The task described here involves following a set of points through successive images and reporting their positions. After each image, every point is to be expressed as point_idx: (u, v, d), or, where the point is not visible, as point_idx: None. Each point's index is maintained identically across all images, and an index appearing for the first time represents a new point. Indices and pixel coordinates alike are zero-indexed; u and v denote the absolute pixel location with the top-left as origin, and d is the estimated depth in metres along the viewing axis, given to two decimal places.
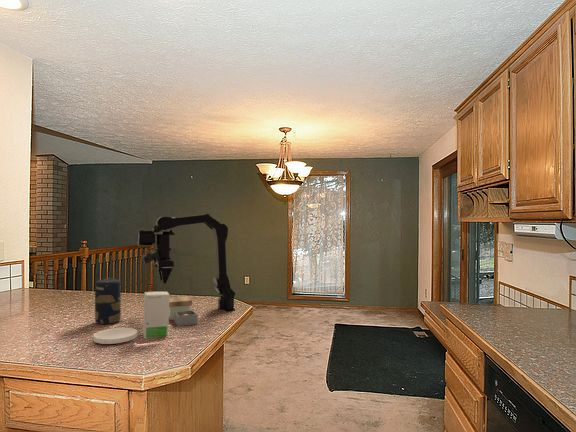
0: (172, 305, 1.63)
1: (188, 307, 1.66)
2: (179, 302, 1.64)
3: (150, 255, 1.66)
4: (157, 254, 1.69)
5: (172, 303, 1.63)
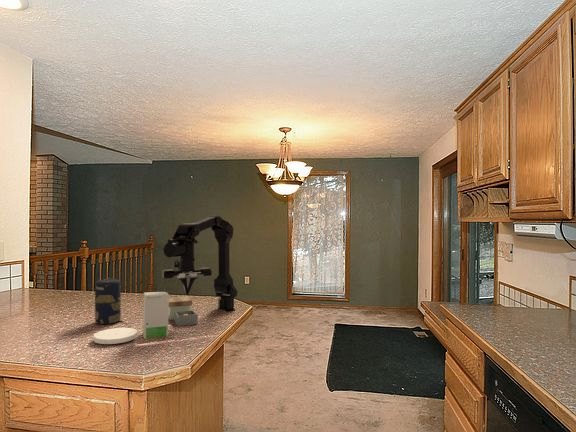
0: (172, 305, 1.63)
1: (188, 307, 1.66)
2: (179, 302, 1.64)
3: (173, 263, 1.63)
4: (178, 263, 1.61)
5: (172, 303, 1.63)
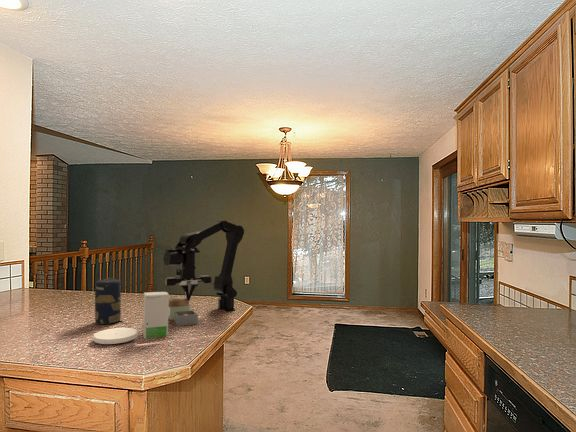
0: (169, 305, 1.62)
1: (188, 307, 1.66)
2: (176, 302, 1.64)
3: (175, 271, 1.74)
4: (180, 271, 1.72)
5: (169, 303, 1.62)
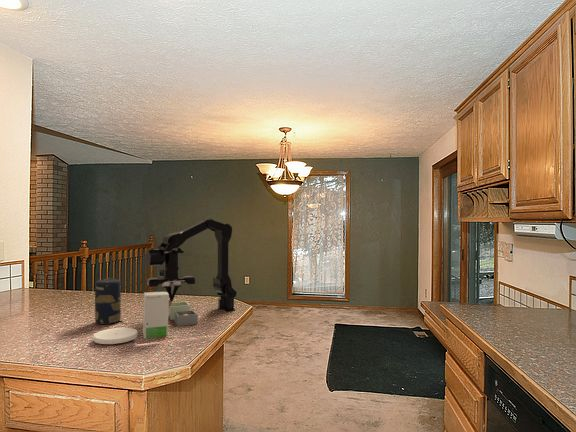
0: None
1: (188, 307, 1.66)
2: None
3: (159, 271, 1.71)
4: (163, 272, 1.69)
5: None
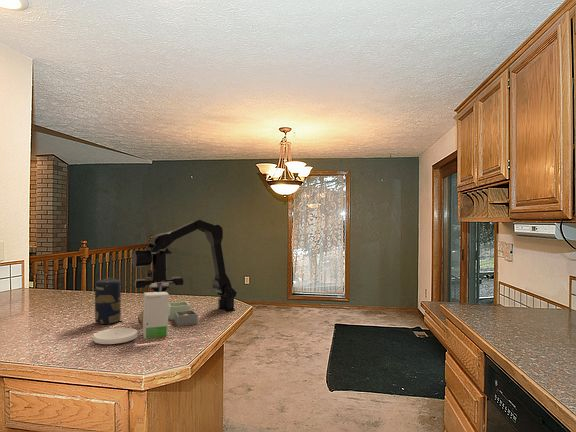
0: None
1: (188, 307, 1.66)
2: None
3: None
4: (151, 273, 1.66)
5: None
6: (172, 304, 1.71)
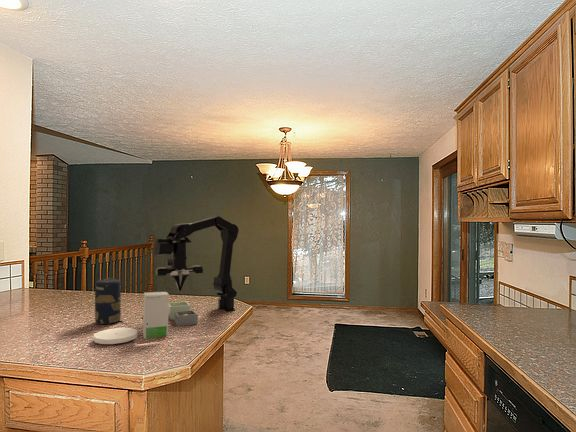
0: None
1: (188, 307, 1.66)
2: None
3: (167, 261, 1.72)
4: (171, 261, 1.70)
5: None
6: (172, 304, 1.71)
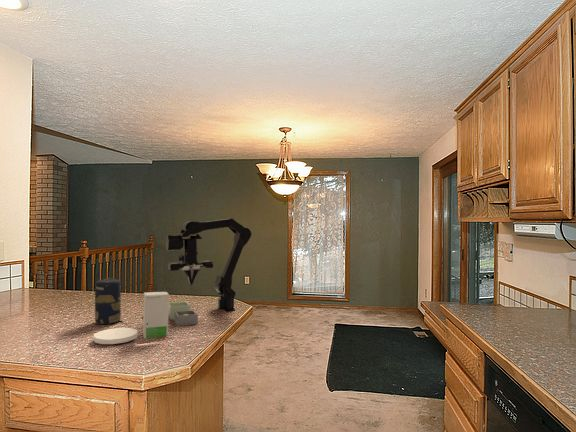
0: None
1: (188, 307, 1.66)
2: None
3: (178, 257, 1.80)
4: (183, 257, 1.78)
5: None
6: (172, 304, 1.71)
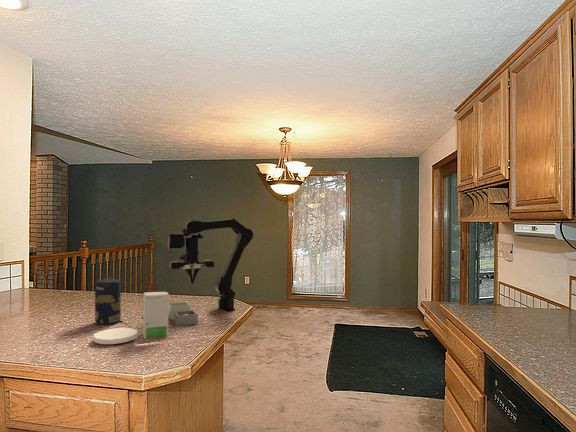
0: None
1: (188, 307, 1.66)
2: None
3: (179, 256, 1.81)
4: (184, 256, 1.79)
5: None
6: (172, 304, 1.71)
